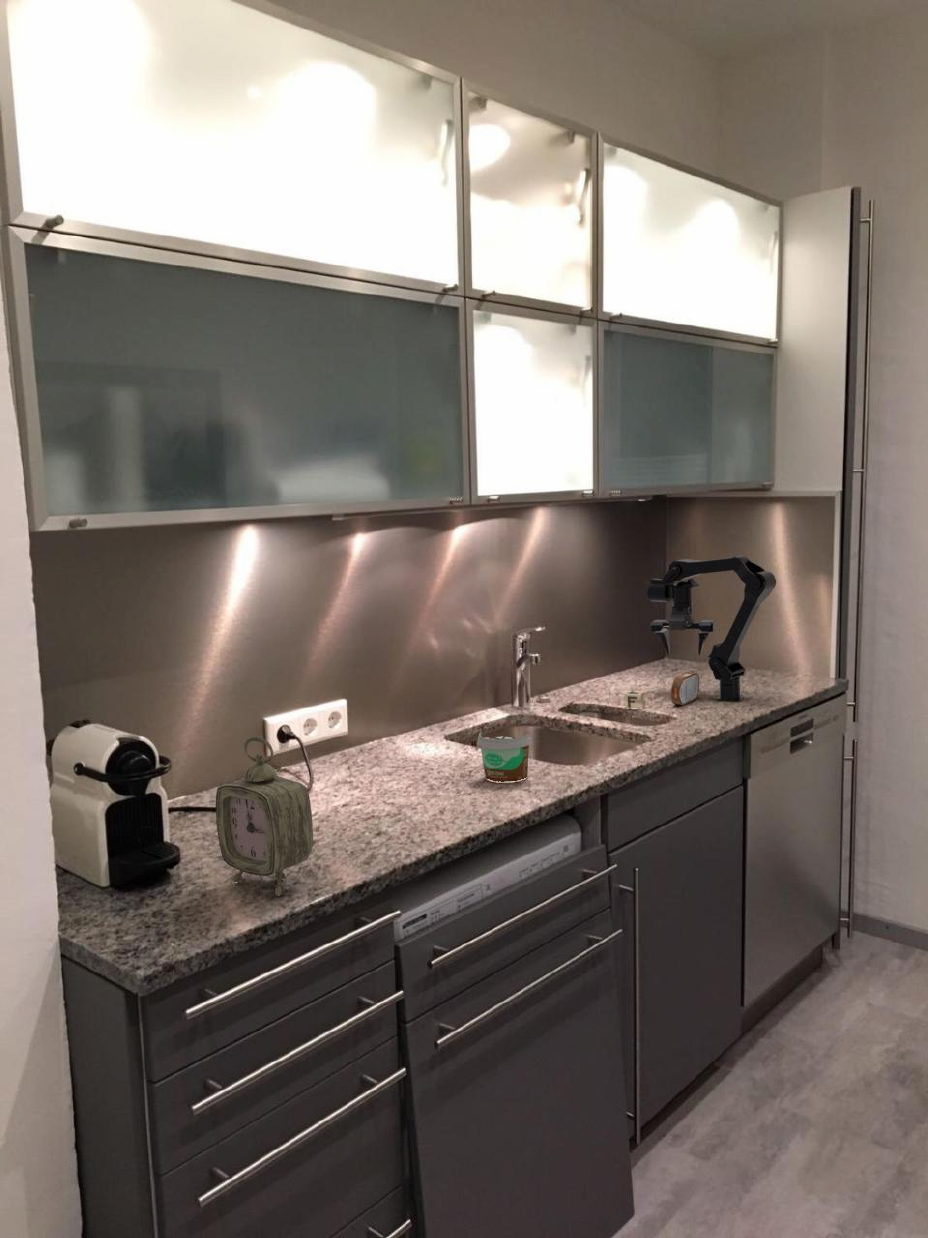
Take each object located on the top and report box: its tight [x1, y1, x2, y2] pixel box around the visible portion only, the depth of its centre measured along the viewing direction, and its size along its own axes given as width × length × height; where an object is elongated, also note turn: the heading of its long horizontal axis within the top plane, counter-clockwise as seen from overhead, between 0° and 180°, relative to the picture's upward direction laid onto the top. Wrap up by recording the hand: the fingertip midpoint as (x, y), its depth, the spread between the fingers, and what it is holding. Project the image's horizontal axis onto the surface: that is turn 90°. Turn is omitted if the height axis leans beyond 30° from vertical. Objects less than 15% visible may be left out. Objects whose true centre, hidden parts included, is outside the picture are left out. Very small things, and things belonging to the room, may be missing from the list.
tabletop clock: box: [215, 736, 314, 896], centre depth 166 cm, size 14×9×25 cm, turn 51°
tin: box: [670, 671, 700, 706], centre depth 290 cm, size 15×3×8 cm, turn 144°
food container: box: [476, 732, 533, 782], centre depth 220 cm, size 12×6×10 cm, turn 68°
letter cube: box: [624, 690, 646, 709], centre depth 287 cm, size 5×4×5 cm
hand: (684, 654), depth 300 cm, fingers open, 9 cm apart
